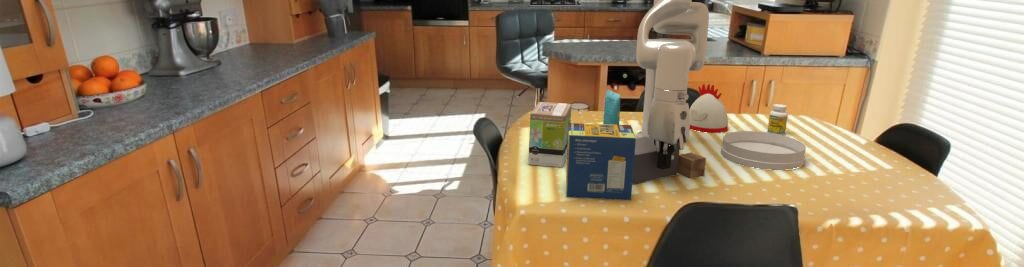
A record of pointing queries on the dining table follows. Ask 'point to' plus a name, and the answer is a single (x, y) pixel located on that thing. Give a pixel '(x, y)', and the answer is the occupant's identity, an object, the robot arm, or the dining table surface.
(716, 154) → the dining table surface
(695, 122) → the hen dome cover
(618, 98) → the tube
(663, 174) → the drawer
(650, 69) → the robot arm
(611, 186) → the protein box
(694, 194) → the dining table surface
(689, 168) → the walnut block
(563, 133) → the tea box
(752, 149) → the dish
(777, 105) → the supplement bottle
